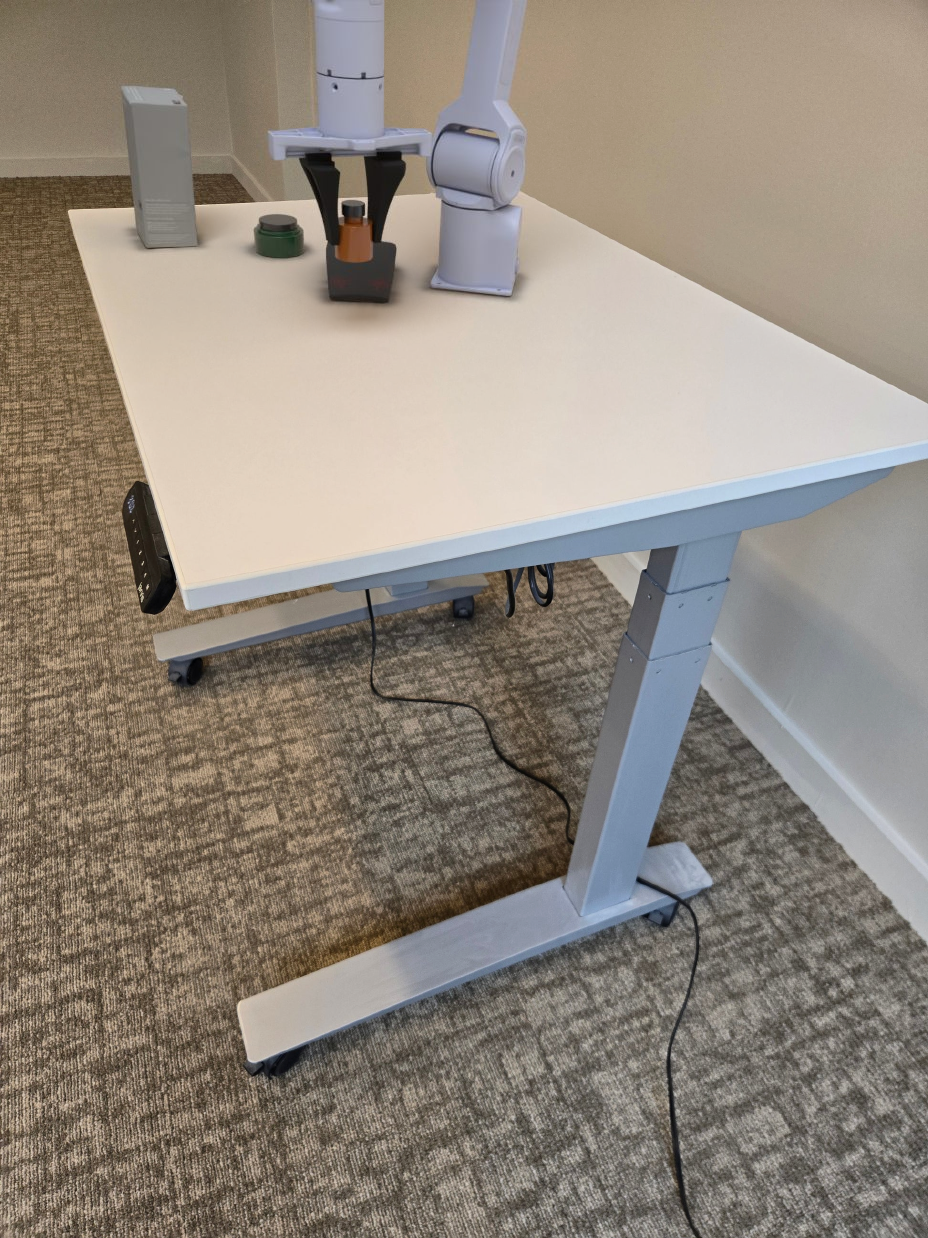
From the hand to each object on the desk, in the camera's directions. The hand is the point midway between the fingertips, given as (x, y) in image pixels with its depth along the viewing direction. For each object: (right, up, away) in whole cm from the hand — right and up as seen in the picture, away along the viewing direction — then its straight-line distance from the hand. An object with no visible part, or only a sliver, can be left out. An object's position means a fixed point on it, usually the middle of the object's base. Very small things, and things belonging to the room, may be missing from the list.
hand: (353, 240), depth 82 cm
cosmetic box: (-26, +12, +26) cm, 39 cm away
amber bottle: (0, -1, +1) cm, 1 cm away
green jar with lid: (-12, +10, +25) cm, 30 cm away
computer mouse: (-1, +3, +18) cm, 19 cm away
